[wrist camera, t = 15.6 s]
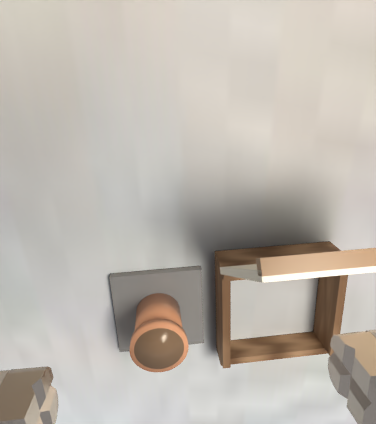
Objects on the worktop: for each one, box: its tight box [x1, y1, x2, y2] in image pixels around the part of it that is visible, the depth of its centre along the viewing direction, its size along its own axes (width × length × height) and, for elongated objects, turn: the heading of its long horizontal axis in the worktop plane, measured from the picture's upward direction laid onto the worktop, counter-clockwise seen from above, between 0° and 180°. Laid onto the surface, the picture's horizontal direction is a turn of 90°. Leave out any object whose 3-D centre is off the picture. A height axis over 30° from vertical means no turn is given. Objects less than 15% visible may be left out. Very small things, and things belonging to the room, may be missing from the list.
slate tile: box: [109, 266, 204, 352], centre depth 45 cm, size 12×12×1 cm
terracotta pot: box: [130, 293, 188, 372], centre depth 41 cm, size 7×7×7 cm
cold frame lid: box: [220, 248, 376, 283], centre depth 30 cm, size 17×16×2 cm
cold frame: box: [215, 241, 348, 368], centre depth 43 cm, size 16×16×6 cm
